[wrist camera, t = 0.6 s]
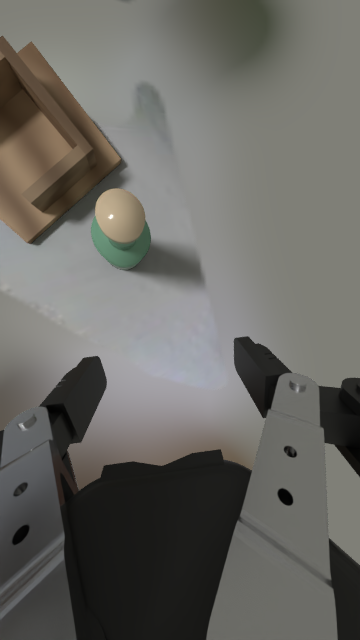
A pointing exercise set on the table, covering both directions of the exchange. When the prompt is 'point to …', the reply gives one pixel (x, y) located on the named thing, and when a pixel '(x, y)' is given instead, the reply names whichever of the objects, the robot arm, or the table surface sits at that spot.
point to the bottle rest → (43, 144)
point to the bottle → (120, 229)
